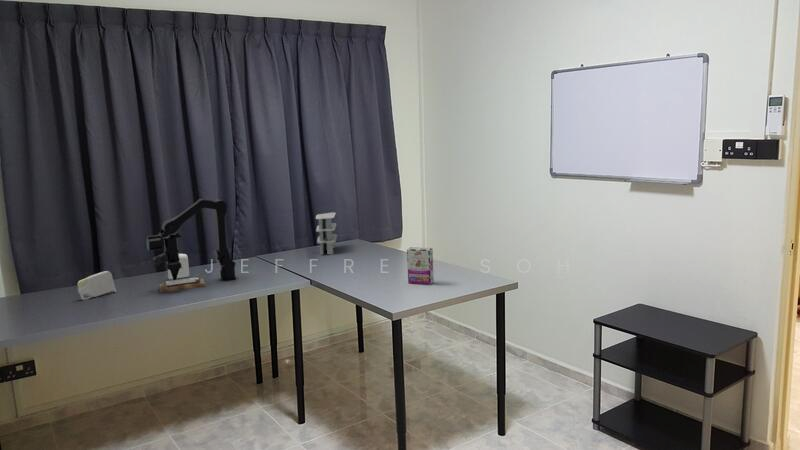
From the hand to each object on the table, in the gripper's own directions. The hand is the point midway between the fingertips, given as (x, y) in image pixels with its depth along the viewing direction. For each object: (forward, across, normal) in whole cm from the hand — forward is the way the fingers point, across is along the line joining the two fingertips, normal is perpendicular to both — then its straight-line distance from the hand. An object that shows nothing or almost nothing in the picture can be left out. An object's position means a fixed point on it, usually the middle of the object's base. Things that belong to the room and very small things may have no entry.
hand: (174, 279), depth 277 cm
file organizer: (+4, -38, +88) cm, 96 cm away
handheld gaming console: (+4, -4, -33) cm, 34 cm away
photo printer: (+4, -20, +3) cm, 21 cm away
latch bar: (+2, 0, +3) cm, 4 cm away
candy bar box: (+4, +55, +103) cm, 117 cm away
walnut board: (+4, 0, +3) cm, 5 cm away
